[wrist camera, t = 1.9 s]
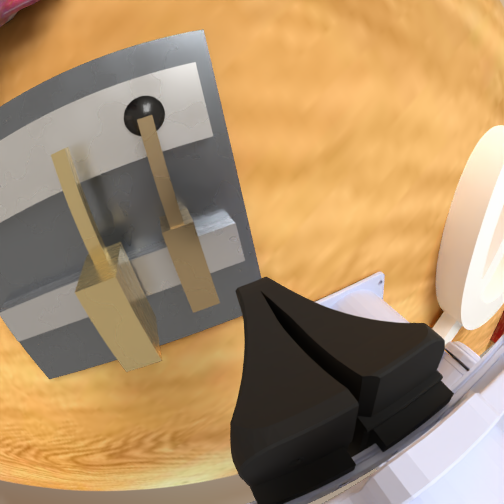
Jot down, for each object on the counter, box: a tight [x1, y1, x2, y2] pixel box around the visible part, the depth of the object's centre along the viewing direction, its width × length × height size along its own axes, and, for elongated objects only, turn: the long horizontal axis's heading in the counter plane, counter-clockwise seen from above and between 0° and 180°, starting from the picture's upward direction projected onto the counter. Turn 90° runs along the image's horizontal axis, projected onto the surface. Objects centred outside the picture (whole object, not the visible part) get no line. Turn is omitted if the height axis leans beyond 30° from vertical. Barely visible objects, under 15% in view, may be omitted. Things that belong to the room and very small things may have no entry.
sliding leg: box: [51, 147, 162, 372], centre depth 12 cm, size 10×2×4 cm, turn 12°
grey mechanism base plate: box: [0, 30, 261, 379], centre depth 14 cm, size 18×18×3 cm
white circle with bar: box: [432, 125, 504, 345], centre depth 29 cm, size 28×28×5 cm
